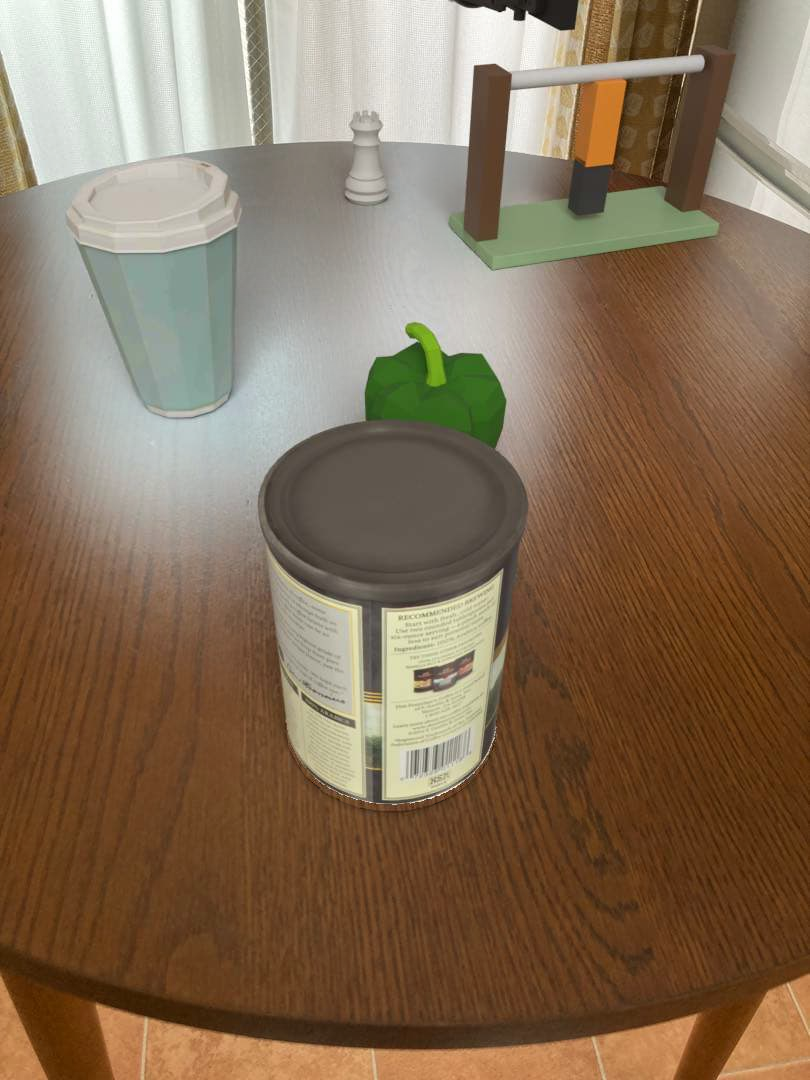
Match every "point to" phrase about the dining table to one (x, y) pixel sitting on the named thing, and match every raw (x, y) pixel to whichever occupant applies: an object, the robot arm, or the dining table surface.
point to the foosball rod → (599, 116)
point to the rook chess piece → (366, 162)
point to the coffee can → (392, 602)
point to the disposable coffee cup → (165, 276)
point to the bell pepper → (436, 388)
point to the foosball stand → (627, 213)
